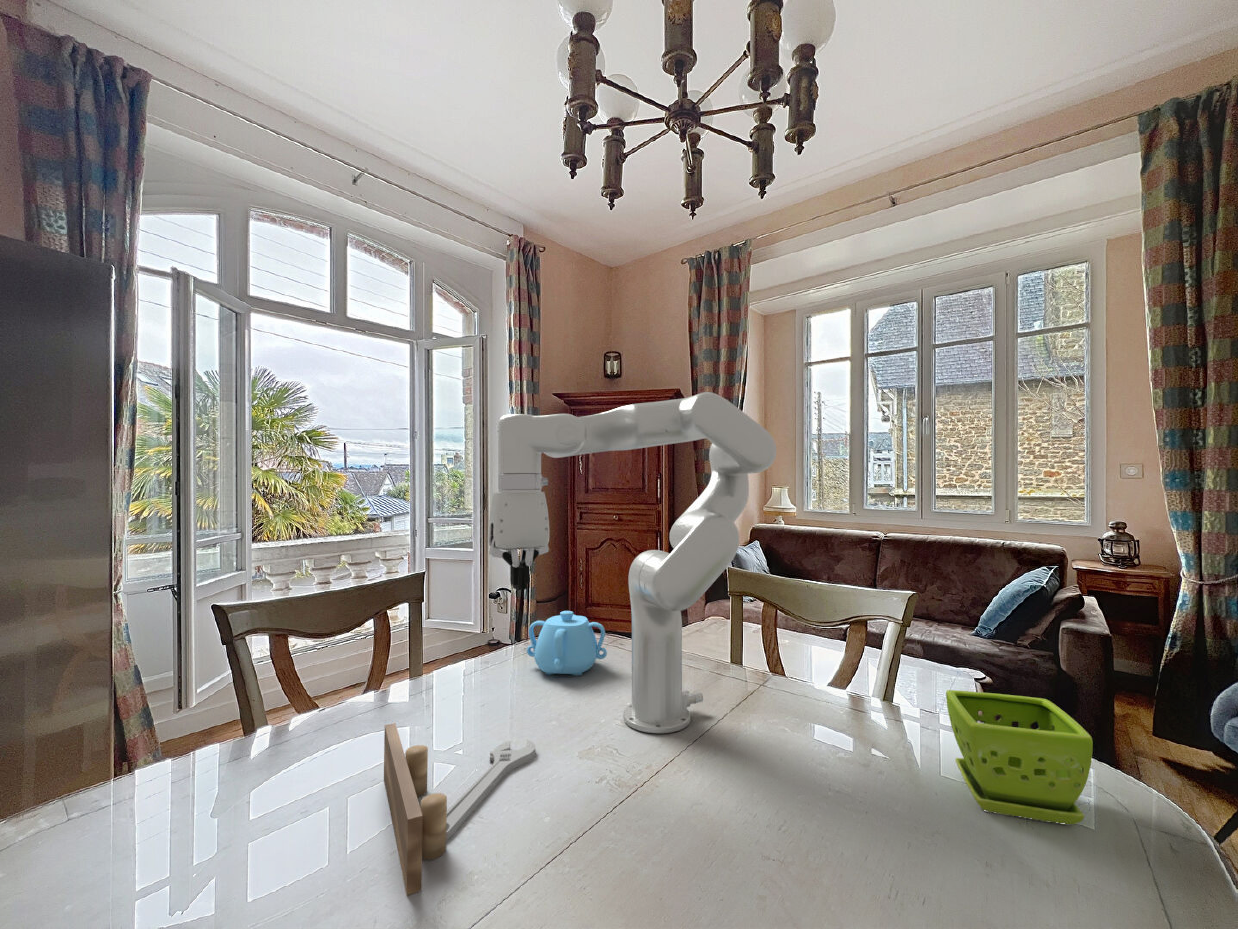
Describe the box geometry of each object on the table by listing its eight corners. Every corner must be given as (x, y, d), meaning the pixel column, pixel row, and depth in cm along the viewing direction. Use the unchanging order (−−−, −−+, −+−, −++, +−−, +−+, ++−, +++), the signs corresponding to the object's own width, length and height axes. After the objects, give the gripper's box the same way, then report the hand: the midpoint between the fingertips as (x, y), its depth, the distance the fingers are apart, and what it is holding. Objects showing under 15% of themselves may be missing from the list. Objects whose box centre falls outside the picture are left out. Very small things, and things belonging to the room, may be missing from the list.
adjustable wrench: (443, 850, 66) (443, 835, 66) (401, 838, 68) (401, 824, 69) (540, 753, 90) (540, 742, 90) (507, 746, 92) (507, 736, 92)
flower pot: (1052, 784, 80) (1050, 697, 80) (1101, 843, 67) (1098, 739, 67) (944, 768, 85) (943, 685, 85) (970, 820, 71) (968, 722, 72)
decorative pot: (521, 665, 132) (521, 609, 133) (579, 654, 141) (579, 601, 141) (550, 686, 119) (550, 624, 119) (612, 672, 127) (612, 614, 128)
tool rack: (420, 770, 83) (421, 718, 84) (456, 878, 61) (457, 806, 61) (383, 779, 81) (384, 725, 81) (406, 895, 58) (407, 819, 58)
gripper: (549, 484, 103) (550, 581, 102) (471, 484, 95) (471, 589, 94) (567, 484, 96) (567, 587, 96) (484, 484, 89) (484, 597, 88)
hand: (519, 588), depth 95 cm, fingers closed
